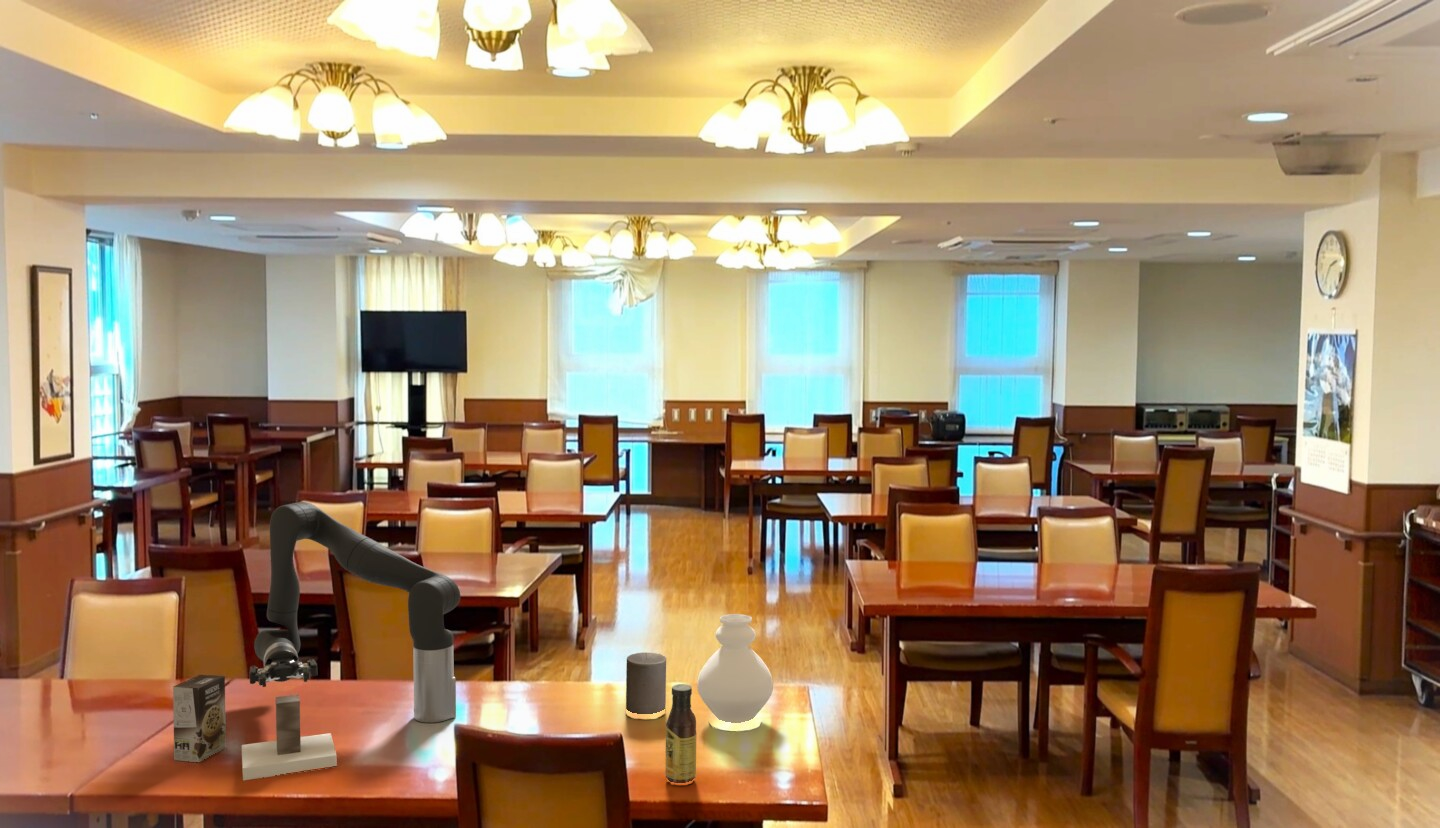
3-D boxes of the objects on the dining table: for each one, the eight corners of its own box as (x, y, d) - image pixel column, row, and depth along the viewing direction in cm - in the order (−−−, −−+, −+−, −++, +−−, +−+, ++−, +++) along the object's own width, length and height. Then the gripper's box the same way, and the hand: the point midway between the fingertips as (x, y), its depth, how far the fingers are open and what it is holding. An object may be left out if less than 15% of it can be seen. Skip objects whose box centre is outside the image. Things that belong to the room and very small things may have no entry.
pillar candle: (617, 715, 260) (618, 654, 258) (641, 704, 268) (642, 644, 267) (650, 723, 254) (651, 661, 253) (674, 711, 263) (674, 651, 262)
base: (330, 744, 240) (330, 733, 240) (336, 766, 227) (336, 755, 227) (241, 756, 232) (241, 745, 232) (242, 780, 220) (242, 768, 219)
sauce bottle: (664, 775, 224) (665, 681, 222) (695, 775, 224) (695, 680, 223) (665, 788, 217) (666, 691, 216) (697, 788, 218) (697, 690, 216)
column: (299, 744, 232) (298, 694, 232) (300, 752, 228) (299, 700, 228) (276, 747, 231) (275, 697, 230) (277, 755, 227) (276, 703, 226)
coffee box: (199, 763, 228) (198, 688, 227) (173, 760, 230) (171, 686, 229) (227, 747, 237) (226, 675, 236) (201, 745, 239) (200, 673, 238)
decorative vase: (767, 738, 245) (768, 629, 244) (690, 733, 248) (691, 625, 247) (776, 712, 263) (778, 610, 261) (704, 707, 266) (705, 607, 264)
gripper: (247, 649, 252) (249, 667, 238) (312, 641, 258) (318, 659, 244) (248, 680, 253) (250, 701, 238) (313, 672, 259) (319, 692, 244)
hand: (285, 680), depth 241 cm, fingers open, 8 cm apart
